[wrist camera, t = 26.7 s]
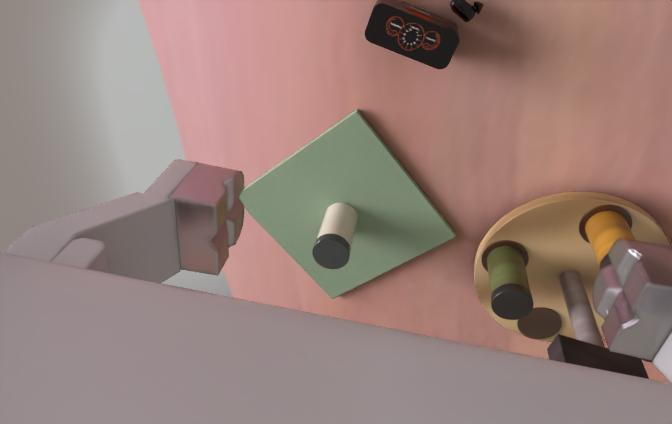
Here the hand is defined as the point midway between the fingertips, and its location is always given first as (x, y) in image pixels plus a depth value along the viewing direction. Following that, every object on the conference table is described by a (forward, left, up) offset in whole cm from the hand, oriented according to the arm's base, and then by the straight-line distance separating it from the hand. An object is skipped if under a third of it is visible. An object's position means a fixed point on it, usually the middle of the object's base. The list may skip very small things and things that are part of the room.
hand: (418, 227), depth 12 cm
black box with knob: (+2, +2, -31) cm, 31 cm away
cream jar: (+18, +12, -30) cm, 37 cm away
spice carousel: (+4, +27, -31) cm, 42 cm away
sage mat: (+18, +12, -31) cm, 38 cm away
